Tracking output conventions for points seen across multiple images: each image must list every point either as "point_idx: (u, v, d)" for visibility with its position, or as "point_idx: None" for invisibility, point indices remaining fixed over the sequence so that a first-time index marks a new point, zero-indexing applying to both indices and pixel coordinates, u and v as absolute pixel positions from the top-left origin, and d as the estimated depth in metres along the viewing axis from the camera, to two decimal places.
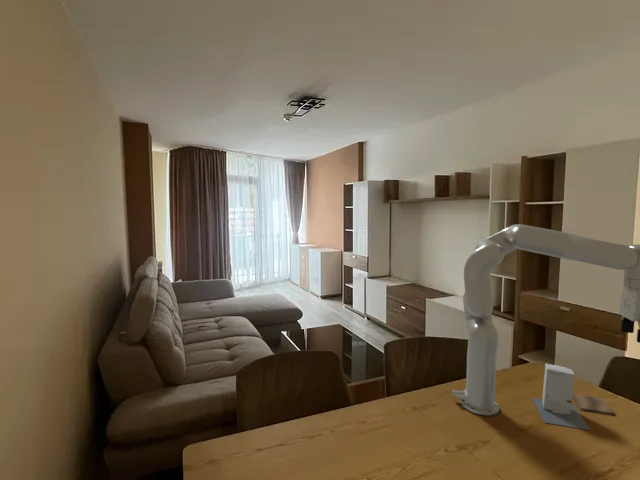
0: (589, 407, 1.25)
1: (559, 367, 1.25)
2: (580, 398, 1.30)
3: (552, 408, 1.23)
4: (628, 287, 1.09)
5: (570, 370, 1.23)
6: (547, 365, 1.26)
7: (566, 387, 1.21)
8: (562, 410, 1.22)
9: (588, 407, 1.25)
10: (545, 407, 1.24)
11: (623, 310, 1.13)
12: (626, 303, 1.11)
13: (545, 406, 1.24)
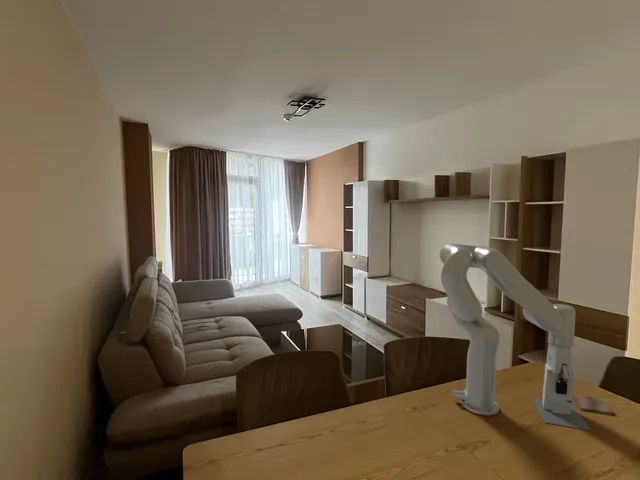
0: (589, 407, 1.25)
1: None
2: (580, 398, 1.30)
3: (552, 408, 1.23)
4: (550, 343, 1.23)
5: None
6: (547, 365, 1.26)
7: None
8: (562, 410, 1.22)
9: (588, 407, 1.25)
10: (545, 407, 1.24)
11: (548, 361, 1.26)
12: (550, 356, 1.25)
13: (545, 406, 1.24)
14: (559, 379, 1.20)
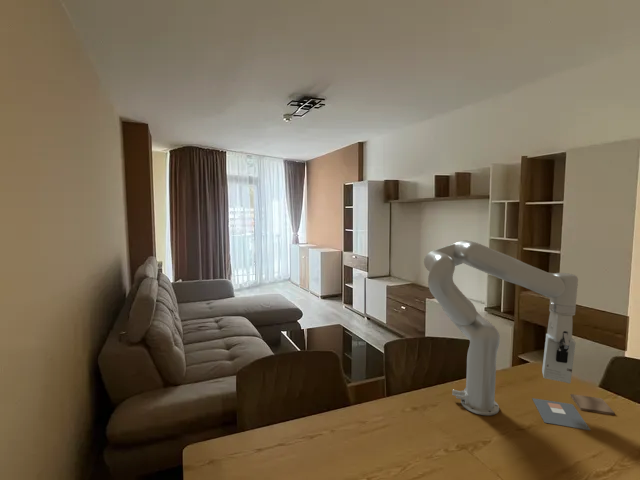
0: (589, 407, 1.25)
1: None
2: (580, 398, 1.30)
3: (552, 377, 1.22)
4: (552, 311, 1.22)
5: None
6: (548, 335, 1.25)
7: None
8: (562, 379, 1.21)
9: (588, 407, 1.25)
10: (545, 376, 1.23)
11: (549, 331, 1.25)
12: (551, 325, 1.24)
13: (545, 375, 1.23)
14: (560, 347, 1.19)
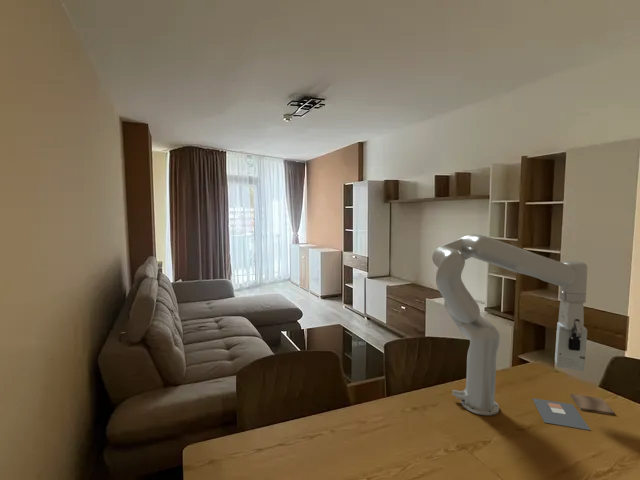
0: (589, 407, 1.25)
1: None
2: (580, 398, 1.30)
3: (565, 366, 1.23)
4: (562, 299, 1.22)
5: (583, 327, 1.22)
6: (559, 323, 1.26)
7: None
8: (575, 367, 1.21)
9: (588, 407, 1.25)
10: (558, 365, 1.24)
11: (560, 320, 1.26)
12: (562, 313, 1.24)
13: (558, 364, 1.24)
14: (572, 335, 1.20)
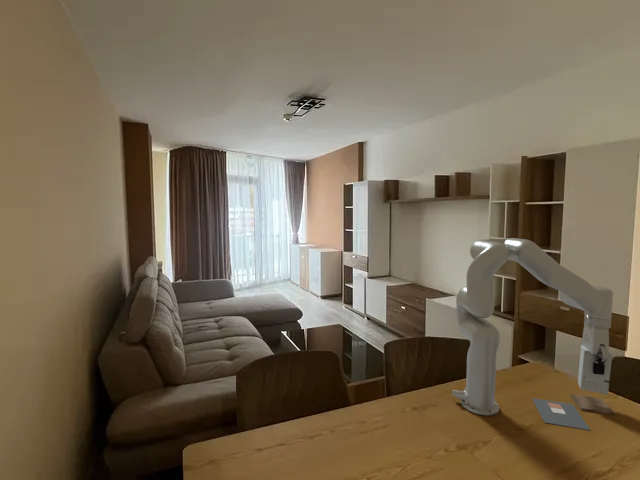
0: (589, 407, 1.25)
1: None
2: (580, 398, 1.30)
3: (589, 389, 1.25)
4: (587, 324, 1.25)
5: None
6: (583, 347, 1.28)
7: None
8: (599, 390, 1.24)
9: (588, 407, 1.25)
10: (582, 388, 1.26)
11: (584, 343, 1.28)
12: (586, 337, 1.27)
13: (582, 387, 1.26)
14: (597, 359, 1.22)
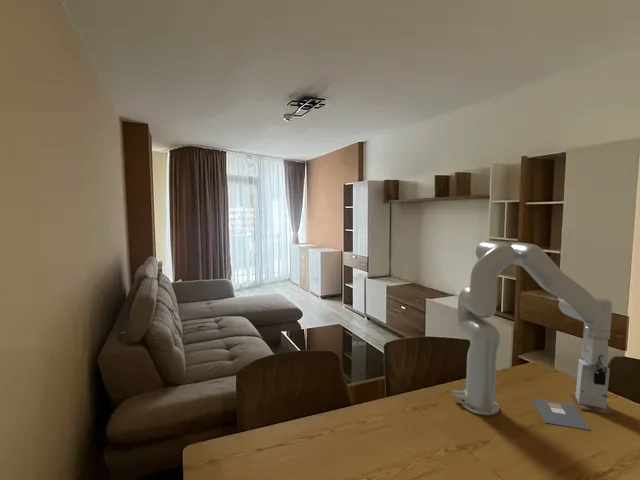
0: (589, 407, 1.25)
1: None
2: None
3: (587, 403, 1.26)
4: (587, 335, 1.25)
5: None
6: (581, 361, 1.29)
7: None
8: (597, 405, 1.25)
9: (588, 407, 1.25)
10: (580, 402, 1.27)
11: (583, 353, 1.29)
12: (585, 348, 1.27)
13: (580, 401, 1.27)
14: (597, 369, 1.21)
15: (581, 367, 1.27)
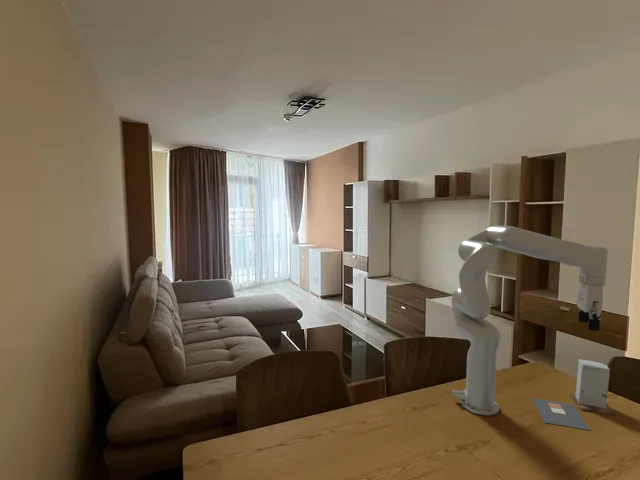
0: (589, 407, 1.25)
1: (593, 362, 1.28)
2: None
3: (587, 403, 1.26)
4: (582, 282, 1.26)
5: (604, 365, 1.26)
6: (581, 361, 1.29)
7: (601, 382, 1.24)
8: (597, 405, 1.25)
9: (588, 407, 1.25)
10: (580, 402, 1.27)
11: (579, 302, 1.30)
12: (581, 296, 1.28)
13: (580, 401, 1.27)
14: (592, 315, 1.23)
15: (581, 367, 1.27)
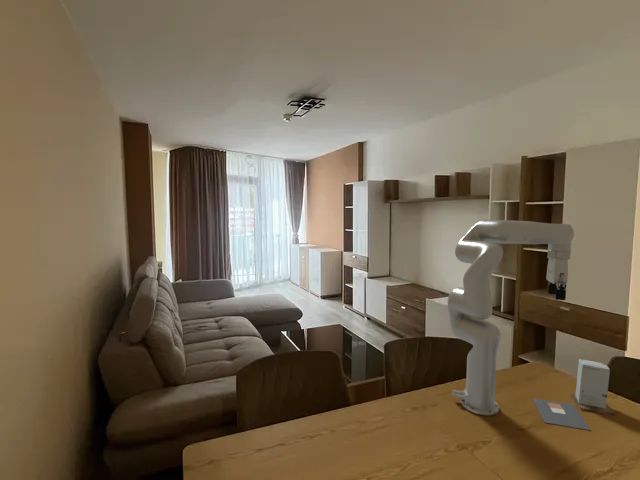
0: (589, 407, 1.25)
1: (593, 362, 1.28)
2: None
3: (587, 403, 1.26)
4: (550, 257, 1.39)
5: (604, 365, 1.26)
6: (581, 361, 1.29)
7: (601, 382, 1.24)
8: (597, 405, 1.25)
9: (588, 407, 1.25)
10: (580, 402, 1.27)
11: (548, 276, 1.43)
12: (549, 270, 1.41)
13: (580, 401, 1.27)
14: (558, 286, 1.35)
15: (581, 367, 1.27)
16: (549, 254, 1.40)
